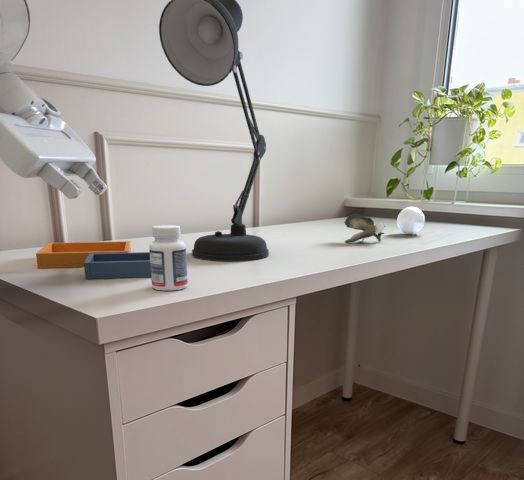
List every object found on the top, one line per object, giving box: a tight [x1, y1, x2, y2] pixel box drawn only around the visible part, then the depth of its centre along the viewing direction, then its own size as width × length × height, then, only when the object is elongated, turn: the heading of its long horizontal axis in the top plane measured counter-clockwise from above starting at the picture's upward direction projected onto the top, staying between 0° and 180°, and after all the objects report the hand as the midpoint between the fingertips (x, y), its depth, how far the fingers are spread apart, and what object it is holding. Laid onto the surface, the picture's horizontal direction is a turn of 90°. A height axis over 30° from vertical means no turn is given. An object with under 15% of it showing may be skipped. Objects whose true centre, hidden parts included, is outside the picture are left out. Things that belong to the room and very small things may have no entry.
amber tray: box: [35, 240, 132, 269], centre depth 97 cm, size 16×14×3 cm
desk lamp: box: [158, 0, 270, 262], centre depth 98 cm, size 24×26×45 cm
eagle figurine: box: [343, 213, 386, 243], centre depth 125 cm, size 8×7×9 cm
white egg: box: [396, 206, 426, 235], centre depth 141 cm, size 10×7×7 cm
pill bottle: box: [148, 224, 189, 292], centre depth 75 cm, size 5×5×9 cm
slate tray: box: [83, 251, 151, 280], centre depth 87 cm, size 12×10×3 cm
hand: (90, 193), depth 72 cm, fingers open, 8 cm apart
